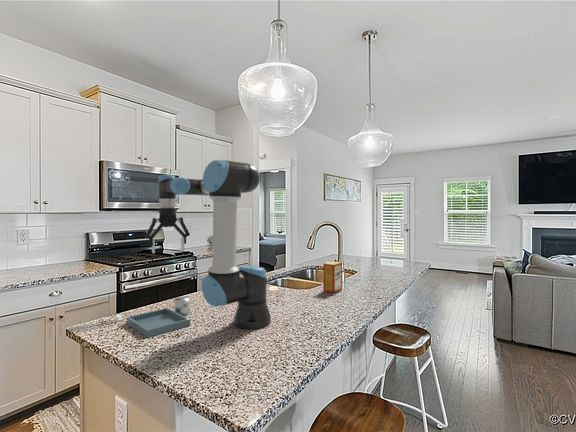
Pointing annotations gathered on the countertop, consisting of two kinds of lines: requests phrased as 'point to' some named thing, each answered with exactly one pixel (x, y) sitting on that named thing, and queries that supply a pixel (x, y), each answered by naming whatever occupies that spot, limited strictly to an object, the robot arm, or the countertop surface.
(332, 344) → the countertop surface
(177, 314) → the parts tray
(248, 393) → the countertop surface
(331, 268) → the baking soda box
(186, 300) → the knob
